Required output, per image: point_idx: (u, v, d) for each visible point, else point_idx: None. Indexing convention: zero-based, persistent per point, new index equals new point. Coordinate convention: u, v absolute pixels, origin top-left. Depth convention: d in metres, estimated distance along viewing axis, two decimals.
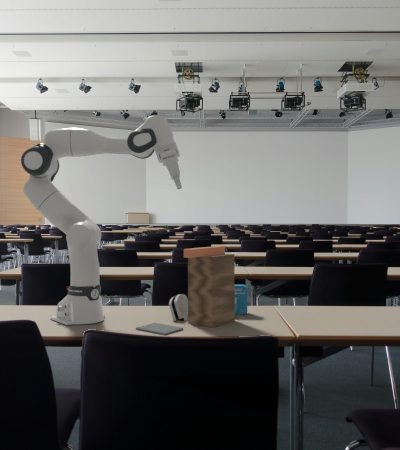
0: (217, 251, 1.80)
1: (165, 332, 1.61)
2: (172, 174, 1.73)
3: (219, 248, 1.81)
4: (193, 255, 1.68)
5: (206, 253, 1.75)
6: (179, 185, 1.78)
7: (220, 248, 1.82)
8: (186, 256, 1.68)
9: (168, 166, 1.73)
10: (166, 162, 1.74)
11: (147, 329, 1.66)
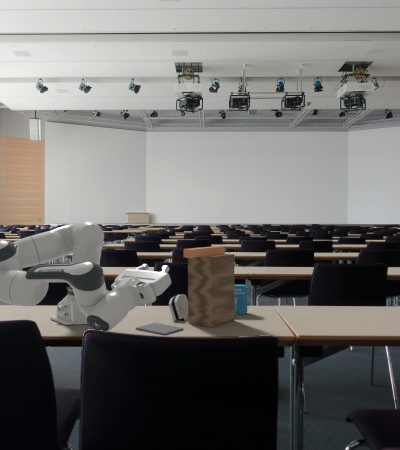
0: (217, 251, 1.80)
1: (165, 332, 1.61)
2: (170, 280, 1.46)
3: (219, 248, 1.81)
4: (193, 255, 1.68)
5: (206, 253, 1.75)
6: (167, 268, 1.51)
7: (220, 248, 1.82)
8: (186, 256, 1.68)
9: (165, 288, 1.44)
10: (161, 291, 1.43)
11: (147, 329, 1.66)
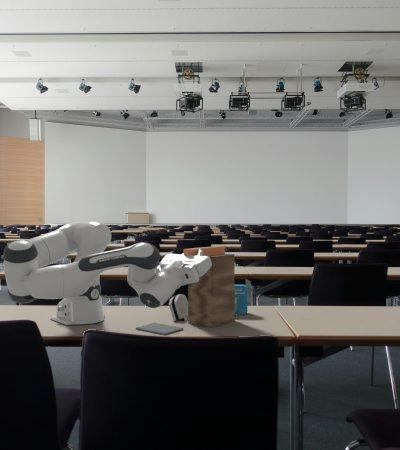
0: (217, 251, 1.80)
1: (165, 332, 1.61)
2: (211, 263, 1.63)
3: (219, 248, 1.81)
4: None
5: (206, 253, 1.75)
6: (201, 252, 1.70)
7: (220, 248, 1.82)
8: None
9: (207, 269, 1.61)
10: (204, 272, 1.60)
11: (147, 329, 1.66)
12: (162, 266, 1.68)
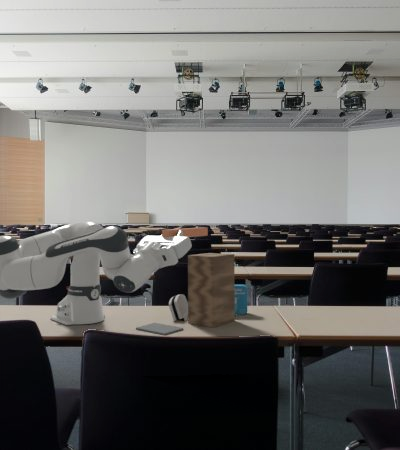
0: (199, 232, 1.70)
1: (165, 332, 1.61)
2: (191, 244, 1.52)
3: (201, 229, 1.70)
4: None
5: (187, 235, 1.64)
6: (181, 233, 1.59)
7: (202, 229, 1.71)
8: None
9: (186, 250, 1.50)
10: (183, 254, 1.49)
11: (147, 329, 1.66)
12: (139, 248, 1.57)
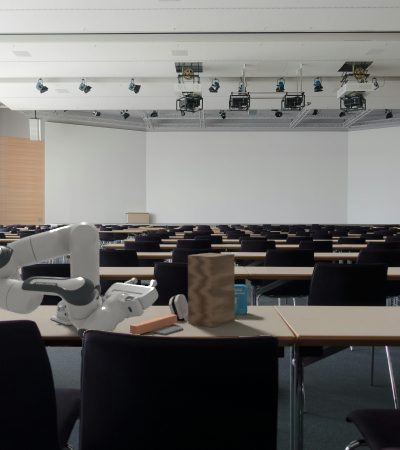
0: (168, 321, 1.72)
1: (165, 332, 1.61)
2: None
3: (170, 318, 1.73)
4: (140, 332, 1.60)
5: (156, 327, 1.66)
6: (155, 282, 1.60)
7: (171, 318, 1.73)
8: (132, 333, 1.59)
9: (152, 301, 1.52)
10: (149, 305, 1.51)
11: None
12: (107, 297, 1.59)
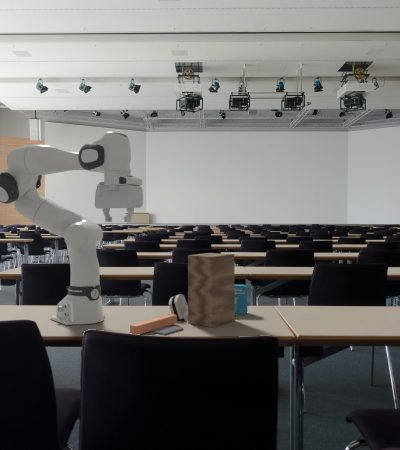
0: (168, 321, 1.72)
1: (165, 332, 1.61)
2: (136, 205, 1.49)
3: (170, 318, 1.73)
4: (140, 332, 1.60)
5: (156, 327, 1.66)
6: (129, 219, 1.53)
7: (171, 318, 1.73)
8: (132, 333, 1.59)
9: (135, 195, 1.48)
10: (134, 190, 1.48)
11: None
12: None
